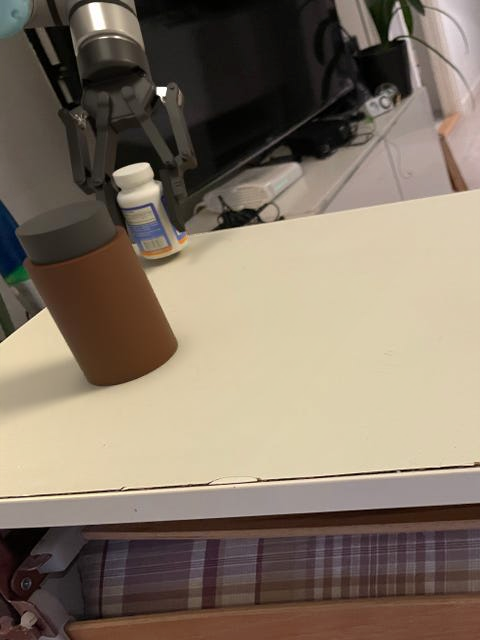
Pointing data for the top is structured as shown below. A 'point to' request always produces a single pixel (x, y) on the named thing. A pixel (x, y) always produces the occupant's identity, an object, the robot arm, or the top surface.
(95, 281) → the brown bottle
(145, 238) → the pill bottle
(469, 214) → the top surface
